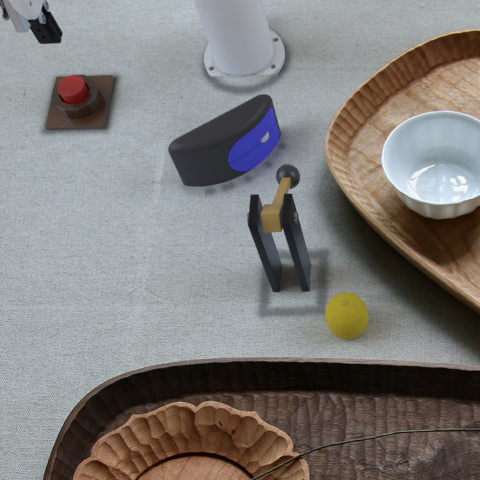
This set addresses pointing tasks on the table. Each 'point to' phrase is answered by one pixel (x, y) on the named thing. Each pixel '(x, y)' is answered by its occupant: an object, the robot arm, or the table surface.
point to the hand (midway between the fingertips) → (51, 39)
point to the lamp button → (72, 89)
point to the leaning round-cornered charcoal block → (227, 144)
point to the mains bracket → (268, 247)
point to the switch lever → (279, 198)
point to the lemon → (346, 315)
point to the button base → (81, 106)
